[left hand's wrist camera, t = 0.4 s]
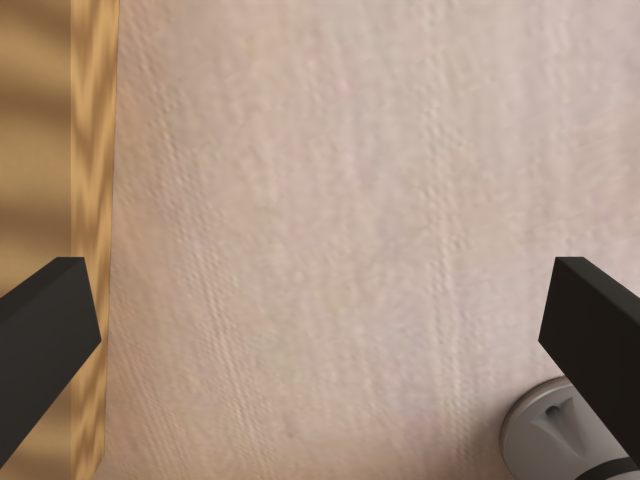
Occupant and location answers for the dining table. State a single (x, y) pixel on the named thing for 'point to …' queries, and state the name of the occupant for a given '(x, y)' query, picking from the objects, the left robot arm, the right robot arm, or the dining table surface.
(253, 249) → the dining table surface
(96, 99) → the thick board
